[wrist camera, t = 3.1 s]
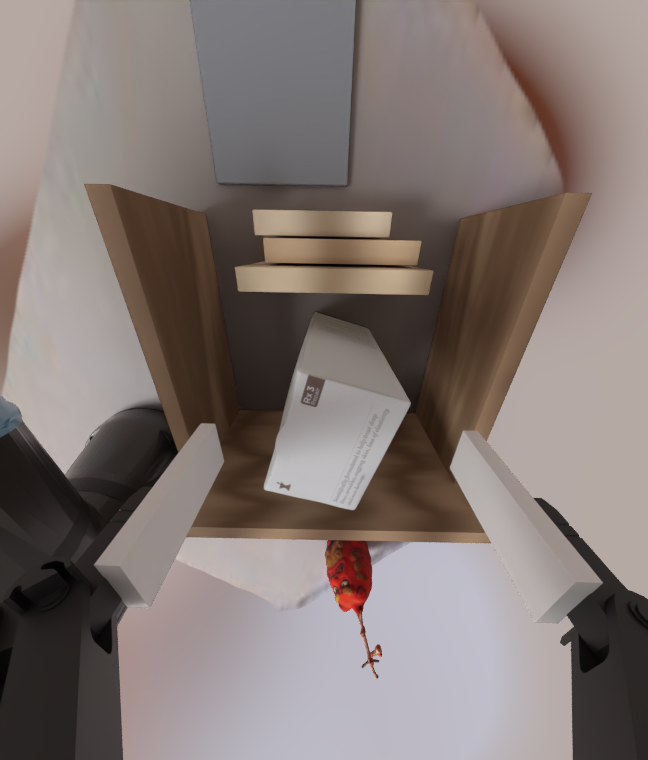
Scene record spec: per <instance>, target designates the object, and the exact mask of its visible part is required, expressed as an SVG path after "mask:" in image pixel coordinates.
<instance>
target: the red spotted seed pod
mask: <svg viewBox="0 0 648 760" xmlns="http://www.w3.org/2000/svg"><path fill="white" fill-rule="evenodd" d="M325 557H326V565H327V576H328V578H329V581H330V585H331V587H332V588H333V591H334V594H335V600H336V602H338V603H339V607H340V608H341V609H342V610H343V611H344V612H347V611H348V610H350V609H351V608H353V610H354V611H355V612H356V613H357V616H358V619H359V621H360V625H361V633H360V635H361V636H362V637H363V638H364V642H365V646H366V651H367V656H368V661H367V662H366V663H365V664H363V665H362V668H363V667H364V666H365V665H366V664H368V663H369V664H370V666H371V668H372V671H373V673H374V675H375V677H376V678H378V675H377V674H376V672H375V671H374V668H373V664H374V662H379V660H373V658H372V657H373V656H376V655H379V656H380V657H382V650H381V646H380V645H377V646H376V647H375V650H374V651H372V652H371V653H370V651H369V647H368V643H367V639H366V636H365V628H364V626H363V621H362V611H363V605H364V603H365V601H366V600H367V598H368V596H369V593H370V591H371V587H372V566H371V557H370V553H369V550H368V546H367V543H366V541H354V540H328V541H327V549H326V552H325Z"/></svg>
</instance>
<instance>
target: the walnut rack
mask: <svg viewBox="0 0 648 760" xmlns="http://www.w3.org/2000/svg"><path fill="white" fill-rule="evenodd" d="M84 185H85V188H86V191H87V194H88V197H89V199H90V202H91V205H92V208H93V211H94V214H95V216H96V219H97V222H98V225H99V228H100V231H101V234H102V236H103V239H104V242H105V245H106V248H107V251H108V254H109V256H110V259H111V262H112V265H113V268H114V271H115V273H116V276H117V279H118V282H119V285H120V288H121V291H122V293H123V296H124V299H125V302H126V305H127V308H128V310H129V313H130V316H131V319H132V322H133V325H134V328H135V330H136V333H137V336H138V339H139V342H140V345H141V348H142V350H143V353H144V356H145V359H146V362H147V365H148V367H149V370H150V373H151V376H152V379H153V382H154V385H155V387H156V390H157V393H158V396H159V399H160V402H161V405H162V407H163V410H164V413H165V416H166V419H167V422H168V424H169V427H170V430H171V433H172V436H173V439H174V442H175V444H176V447H177V450H178V453H179V452H180V450H181V449H182V448H183V446H184V445H185V444H186V442H187V441H188V440H189V438H190V437H191V436H192V435H193V433H194V432H195V431H196V429H197V428H198V427H199V425H200V424H201V423H206V424H215V425H216V429H217V433H218V438H219V442H220V446H221V450H222V454H223V458H224V463H223V465H222V467H221V469H220V471H219V473H218V475H217V477H216V479H215V481H214V483H213V485H212V487H211V489H210V491H209V493H208V494H207V496H206V498H205V500H204V502H203V504H202V506H201V508H200V510H199V512H198V514H197V516H196V518H195V520H194V522H193V524H192V526H191V528H190V530H189V532H188V534H187V536H186V537H208V538H257V539H306V540H354V541H403V542H452V543H491V542H490V540H489V538H488V536H487V535H486V533H485V531H484V529H483V527H482V526H481V524H480V522H479V520H478V518H477V517H476V515H475V513H474V511H473V509H472V508H471V506H470V504H469V502H468V500H467V499H466V497H465V495H464V493H463V491H462V489H461V488H460V486H459V484H458V482H457V480H456V479H455V477H454V475H453V473H452V471H451V470H450V466H451V463H452V460H453V457H454V455H455V452H456V449H457V446H458V443H459V441H460V438H461V435H462V432H463V431H478V432H479V433H480V434H481V435H482V437H483V438H484V439H485V440H486V441H487V439H488V436H489V434H490V432H491V430H492V427H493V425H494V422H495V420H496V418H497V415H498V413H499V411H500V408H501V406H502V404H503V401H504V399H505V396H506V394H507V392H508V389H509V387H510V385H511V383H512V380H513V378H514V375H515V373H516V371H517V368H518V366H519V364H520V361H521V359H522V357H523V354H524V352H525V350H526V347H527V345H528V343H529V340H530V338H531V336H532V333H533V331H534V328H535V326H536V324H537V321H538V319H539V317H540V314H541V312H542V310H543V307H544V305H545V303H546V300H547V298H548V296H549V293H550V291H551V289H552V286H553V284H554V281H555V279H556V277H557V274H558V272H559V270H560V267H561V265H562V263H563V260H564V258H565V255H566V253H567V251H568V249H569V246H570V244H571V242H572V239H573V237H574V235H575V232H576V230H577V227H578V225H579V223H580V220H581V218H582V216H583V213H584V211H585V209H586V206H587V204H588V202H589V199H590V197H591V195H592V193H563V194H559V195H555V196H551V197H547V198H543V199H539V200H535V201H531V202H527V203H523V204H519V205H515V206H511V207H507V208H503V209H499V210H495V211H491V212H487V213H483V214H479V215H475V216H471V217H467V218H463V219H460V223H459V227H458V231H457V236H456V240H455V244H454V248H453V253H452V257H451V261H450V266H449V270H448V274H447V279H446V283H445V287H444V291H443V296H442V300H441V304H440V309H439V313H438V317H437V322H436V326H435V330H434V335H433V339H432V343H431V347H430V352H429V356H428V360H427V365H426V369H425V373H424V378H423V382H422V386H421V391H420V395H419V399H418V403H417V408H416V412H415V413H406V415H405V417H404V418H403V420H402V422H401V424H400V426H399V428H398V430H397V432H396V434H395V435H394V437H393V439H392V441H391V443H390V445H389V447H388V449H387V451H386V453H385V454H384V456H383V458H382V460H381V462H380V464H379V466H378V468H377V470H376V471H375V473H374V475H373V477H372V479H371V481H370V483H369V485H368V486H367V488H366V490H365V492H364V494H363V496H362V498H361V500H360V502H359V503H358V505H357V507H356V509H355V510H350V509H344V508H340V507H336V506H332V505H329V504H325V503H321V502H316V501H312V500H307V499H302V498H297V497H293V496H289V495H284V494H280V493H276V492H271V491H266V490H264V483H265V480H266V476H267V473H268V469H269V466H270V463H271V459H272V456H273V453H274V449H275V443H276V438H277V435H278V433H279V429H280V425H281V421H282V416H283V412H284V411H266V410H240V408H239V402H238V396H237V391H236V385H235V379H234V374H233V368H232V362H231V356H230V351H229V345H228V339H227V333H226V328H225V322H224V316H223V311H222V305H221V299H220V293H219V288H218V282H217V276H216V270H215V265H214V259H213V253H212V247H211V242H210V236H209V230H208V225H207V219H206V214H203V213H200V212H196V211H193V210H190V209H187V208H184V207H180V206H177V205H174V204H171V203H168V202H165V201H161V200H158V199H155V198H152V197H149V196H145V195H142V194H139V193H136V192H133V191H129V190H126V189H123V188H120V187H117V186H114V185H110V184H84Z"/></svg>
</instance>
